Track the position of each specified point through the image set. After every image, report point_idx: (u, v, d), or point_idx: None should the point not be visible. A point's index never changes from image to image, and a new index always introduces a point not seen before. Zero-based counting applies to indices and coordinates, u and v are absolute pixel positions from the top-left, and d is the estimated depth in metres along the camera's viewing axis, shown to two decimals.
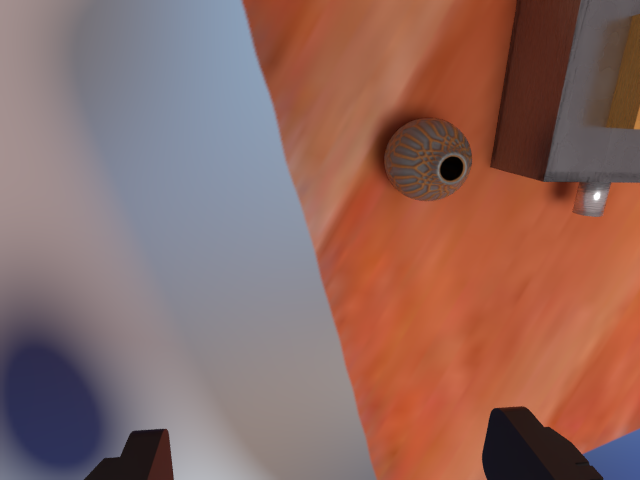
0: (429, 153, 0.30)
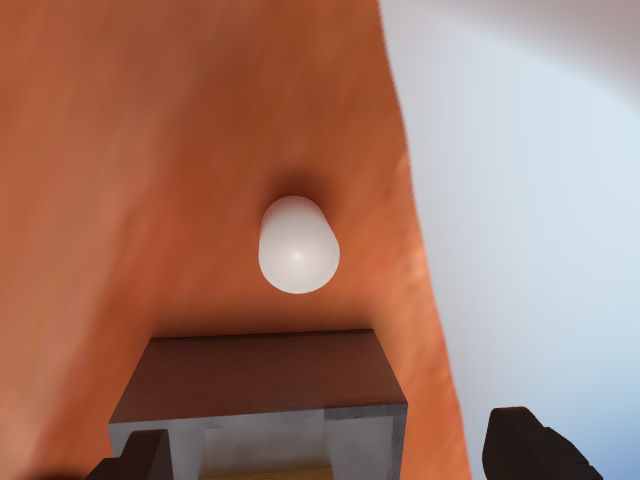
0: None
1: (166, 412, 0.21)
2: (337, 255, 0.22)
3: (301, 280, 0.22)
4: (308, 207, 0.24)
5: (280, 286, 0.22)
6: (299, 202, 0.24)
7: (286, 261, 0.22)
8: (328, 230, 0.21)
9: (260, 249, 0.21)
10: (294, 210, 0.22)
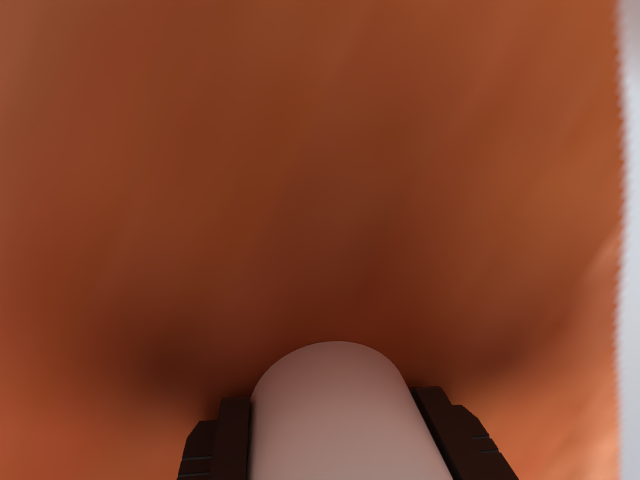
0: None
1: None
2: None
3: None
4: (390, 424, 0.08)
5: None
6: (357, 391, 0.08)
7: None
8: None
9: None
10: (359, 477, 0.07)
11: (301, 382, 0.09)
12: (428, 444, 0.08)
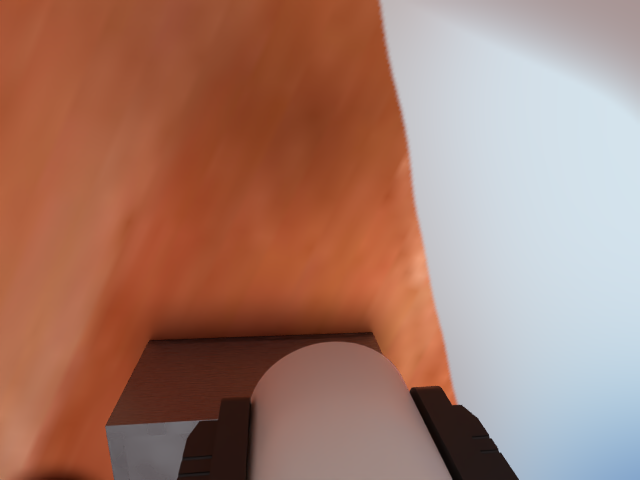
0: None
1: (164, 414, 0.21)
2: None
3: None
4: (390, 424, 0.08)
5: None
6: (357, 392, 0.09)
7: None
8: None
9: None
10: (358, 478, 0.07)
11: (301, 383, 0.09)
12: (428, 445, 0.08)
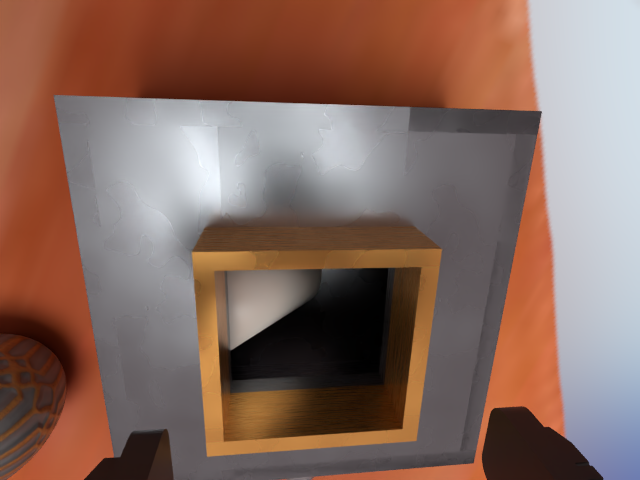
0: None
1: None
2: (239, 320, 0.16)
3: None
4: None
5: None
6: None
7: None
8: (228, 283, 0.16)
9: None
10: None
11: None
12: None
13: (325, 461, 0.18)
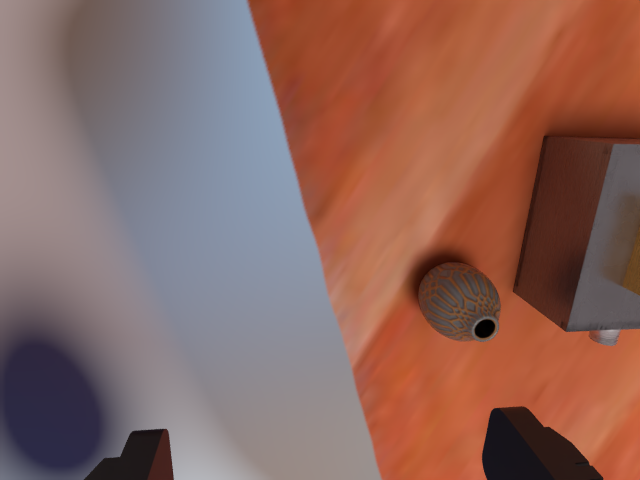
0: (464, 312, 0.34)
1: (639, 144, 0.31)
2: None
3: None
4: None
5: None
6: None
7: None
8: None
9: None
10: None
11: None
12: None
13: None
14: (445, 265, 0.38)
